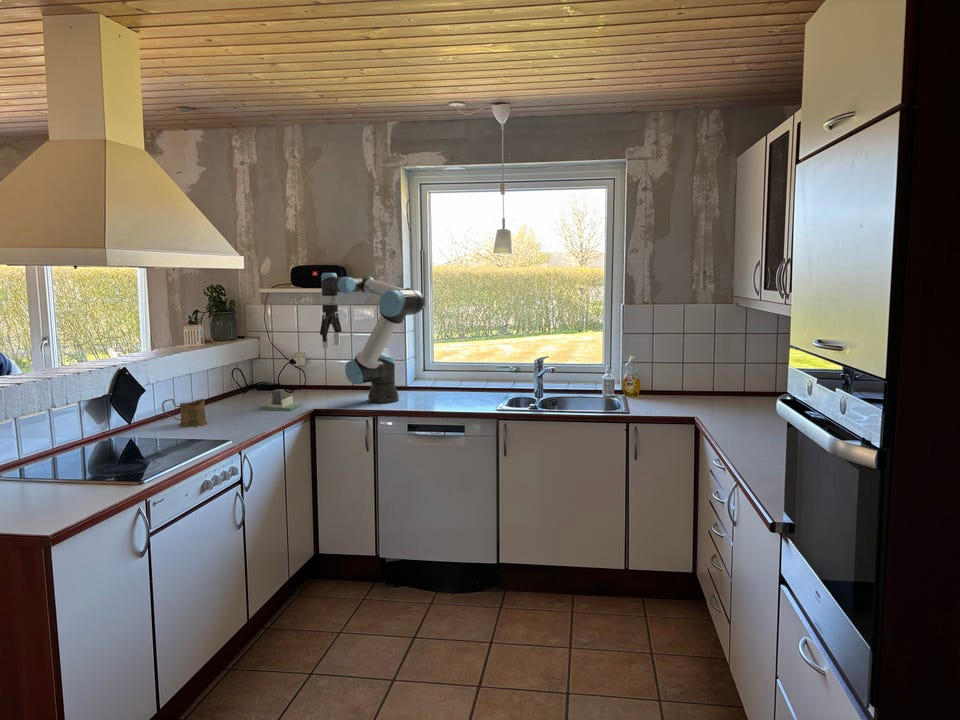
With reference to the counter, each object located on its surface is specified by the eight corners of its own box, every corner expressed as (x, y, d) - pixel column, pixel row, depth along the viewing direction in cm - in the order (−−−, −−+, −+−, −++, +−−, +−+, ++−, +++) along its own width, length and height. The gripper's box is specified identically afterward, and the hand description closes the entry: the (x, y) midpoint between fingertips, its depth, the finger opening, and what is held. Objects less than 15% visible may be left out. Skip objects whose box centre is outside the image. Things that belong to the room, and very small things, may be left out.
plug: (286, 403, 341) (284, 389, 340) (281, 405, 337) (279, 390, 336) (278, 404, 342) (276, 389, 341) (273, 405, 338) (271, 391, 337)
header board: (302, 405, 343) (301, 396, 343) (290, 410, 332) (289, 400, 331) (272, 404, 347) (271, 395, 346) (259, 409, 335) (258, 399, 335)
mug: (160, 426, 302) (159, 398, 300) (203, 420, 312) (202, 393, 311) (167, 431, 293) (165, 402, 291) (211, 425, 303) (209, 397, 301)
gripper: (333, 302, 366) (334, 344, 368) (311, 305, 342) (313, 349, 344) (347, 302, 364) (348, 344, 367) (326, 305, 340) (327, 349, 343)
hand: (331, 346), depth 356 cm, fingers open, 13 cm apart
